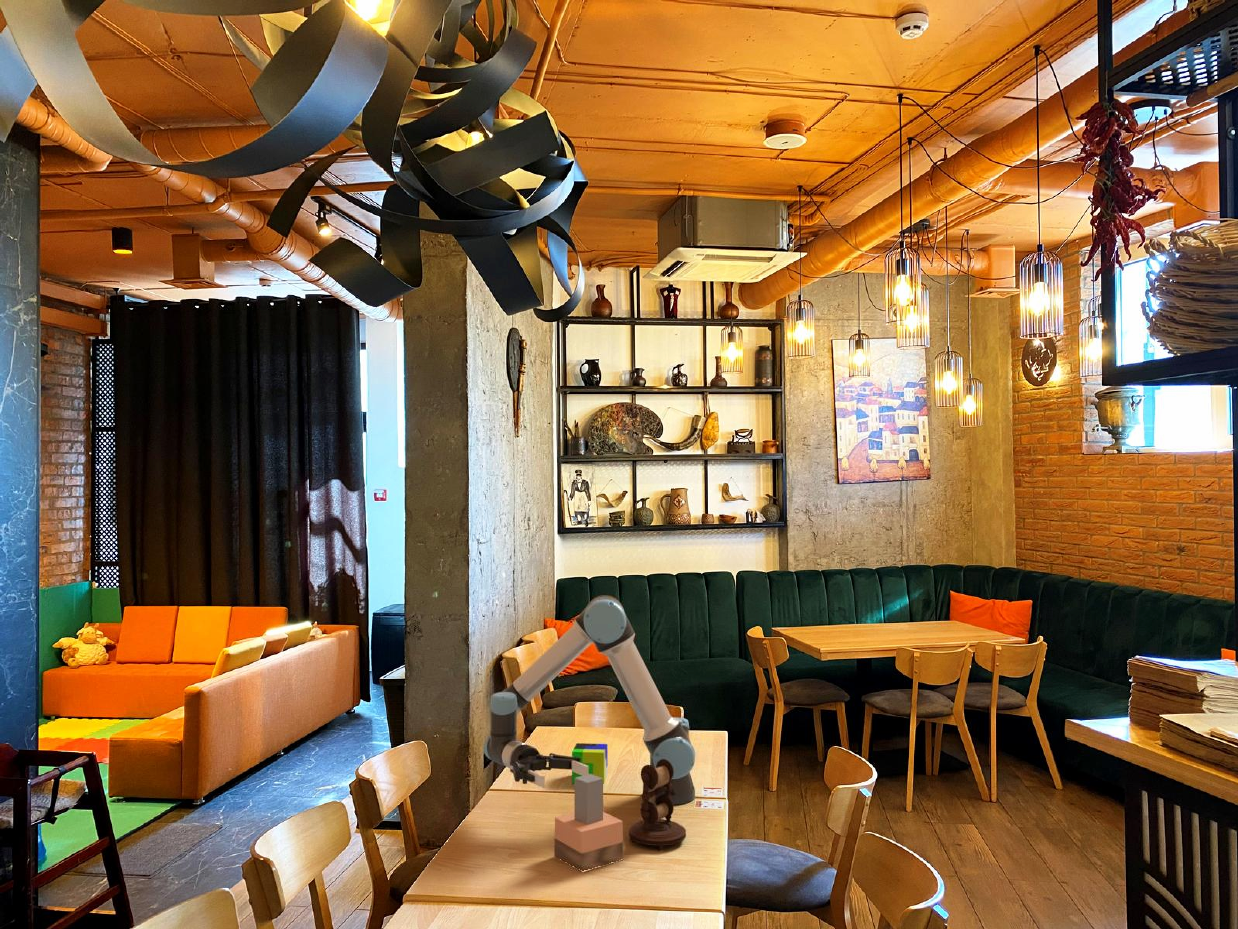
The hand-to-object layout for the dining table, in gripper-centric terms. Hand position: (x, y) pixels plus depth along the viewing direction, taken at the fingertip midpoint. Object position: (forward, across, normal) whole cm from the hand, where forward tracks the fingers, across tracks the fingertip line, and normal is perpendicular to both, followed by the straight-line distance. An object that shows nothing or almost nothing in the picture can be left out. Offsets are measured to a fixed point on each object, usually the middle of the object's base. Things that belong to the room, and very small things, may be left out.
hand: (565, 776), depth 225 cm
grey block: (+10, 0, -8) cm, 13 cm away
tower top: (+10, 0, -13) cm, 16 cm away
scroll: (+11, -21, -18) cm, 30 cm away
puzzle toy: (-41, -37, -18) cm, 58 cm away
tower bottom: (+10, 0, -18) cm, 20 cm away
